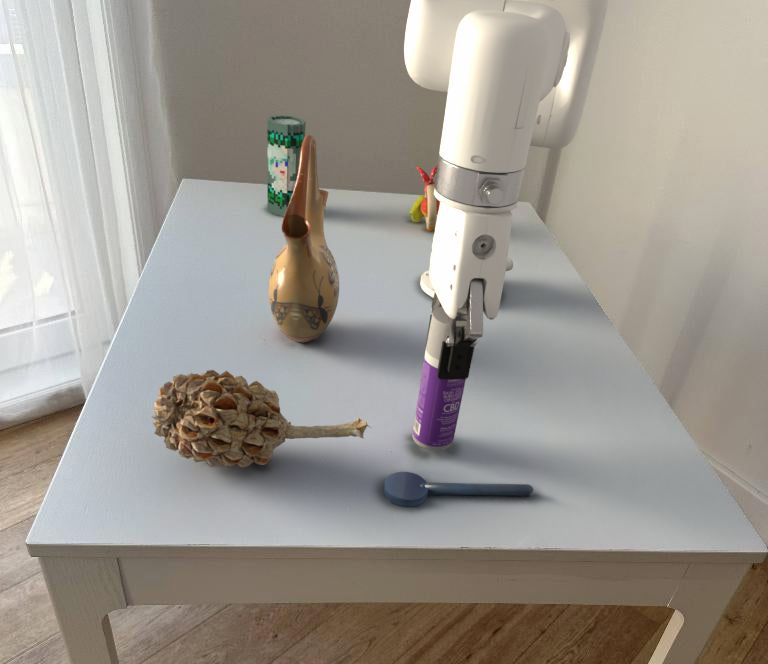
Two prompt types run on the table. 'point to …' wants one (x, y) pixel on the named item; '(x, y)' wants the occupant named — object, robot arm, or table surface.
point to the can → (283, 159)
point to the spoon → (441, 489)
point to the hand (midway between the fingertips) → (446, 362)
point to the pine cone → (229, 420)
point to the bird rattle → (426, 202)
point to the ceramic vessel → (304, 259)
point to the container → (437, 391)
